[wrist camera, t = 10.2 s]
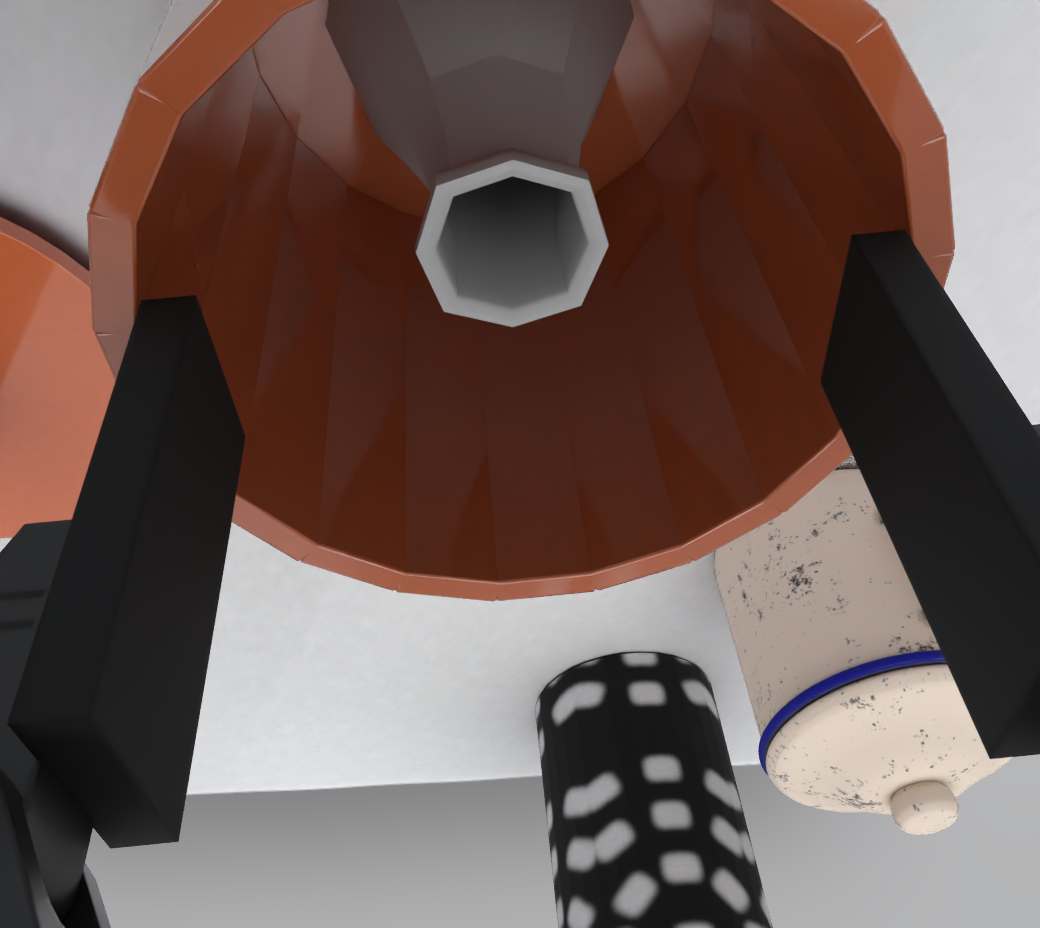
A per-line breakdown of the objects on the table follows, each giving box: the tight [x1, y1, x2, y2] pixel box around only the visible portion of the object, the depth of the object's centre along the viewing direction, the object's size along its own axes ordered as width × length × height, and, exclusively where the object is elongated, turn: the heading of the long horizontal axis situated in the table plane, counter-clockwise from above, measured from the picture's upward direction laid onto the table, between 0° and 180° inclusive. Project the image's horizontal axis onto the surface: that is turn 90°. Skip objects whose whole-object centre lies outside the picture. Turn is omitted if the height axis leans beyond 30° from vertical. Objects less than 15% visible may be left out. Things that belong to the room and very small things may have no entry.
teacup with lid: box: [714, 469, 1012, 835], centre depth 34 cm, size 12×9×12 cm
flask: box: [325, 0, 634, 327], centre depth 20 cm, size 7×7×10 cm
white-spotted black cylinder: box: [536, 653, 773, 928], centre depth 39 cm, size 8×8×20 cm
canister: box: [87, 0, 955, 601], centre depth 19 cm, size 12×12×13 cm
